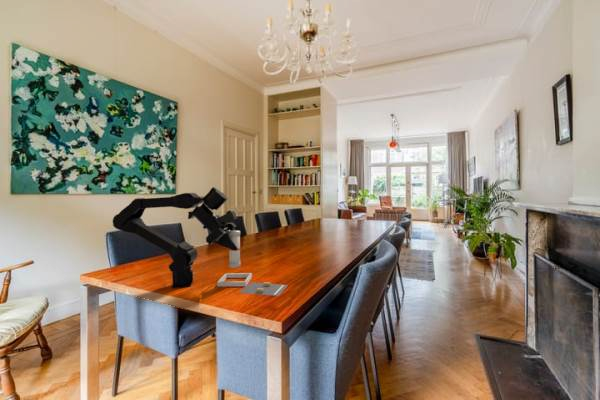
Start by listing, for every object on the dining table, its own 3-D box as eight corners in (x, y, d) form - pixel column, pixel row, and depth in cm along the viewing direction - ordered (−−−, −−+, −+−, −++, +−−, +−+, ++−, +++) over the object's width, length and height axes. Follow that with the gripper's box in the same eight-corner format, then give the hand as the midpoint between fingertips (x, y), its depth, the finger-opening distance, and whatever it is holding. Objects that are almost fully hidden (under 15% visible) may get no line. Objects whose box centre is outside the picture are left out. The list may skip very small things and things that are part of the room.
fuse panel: (238, 295, 90) (238, 289, 90) (251, 285, 100) (251, 279, 100) (278, 298, 87) (278, 292, 87) (287, 288, 96) (287, 282, 96)
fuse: (230, 268, 98) (230, 232, 98) (227, 265, 102) (227, 230, 101) (242, 266, 100) (241, 231, 100) (238, 263, 104) (238, 230, 103)
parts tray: (217, 289, 96) (217, 282, 96) (226, 279, 107) (225, 273, 106) (245, 288, 96) (245, 281, 96) (251, 279, 106) (251, 273, 106)
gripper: (214, 204, 91) (247, 237, 91) (230, 202, 110) (258, 229, 110) (191, 228, 92) (224, 260, 92) (211, 221, 110) (239, 249, 110)
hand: (238, 248), depth 101 cm, fingers closed on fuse, 4 cm apart
